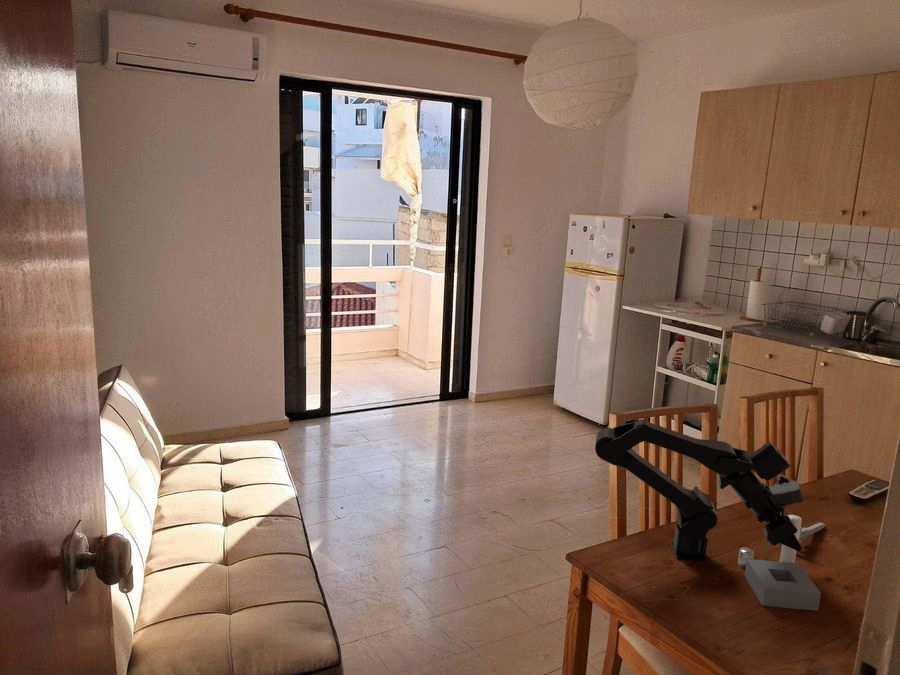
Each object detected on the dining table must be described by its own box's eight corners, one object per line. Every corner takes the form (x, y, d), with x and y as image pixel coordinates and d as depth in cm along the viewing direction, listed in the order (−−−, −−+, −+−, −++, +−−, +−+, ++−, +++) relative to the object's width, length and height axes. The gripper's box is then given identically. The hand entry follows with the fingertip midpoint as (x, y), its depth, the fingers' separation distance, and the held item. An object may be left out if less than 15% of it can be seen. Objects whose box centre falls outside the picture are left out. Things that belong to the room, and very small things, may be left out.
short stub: (740, 567, 151) (742, 553, 150) (736, 560, 153) (738, 546, 153) (753, 569, 150) (756, 555, 150) (749, 561, 153) (751, 548, 152)
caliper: (794, 554, 158) (798, 530, 156) (789, 552, 158) (794, 528, 157) (825, 527, 171) (829, 504, 170) (820, 525, 172) (824, 503, 171)
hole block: (762, 605, 137) (765, 588, 136) (744, 575, 148) (747, 559, 147) (817, 610, 136) (821, 593, 135) (796, 579, 147) (799, 563, 146)
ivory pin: (781, 571, 150) (790, 520, 147) (776, 564, 153) (784, 514, 150) (795, 572, 149) (804, 521, 147) (790, 565, 152) (798, 515, 150)
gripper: (793, 488, 138) (843, 545, 138) (773, 454, 156) (817, 504, 156) (747, 517, 141) (795, 572, 141) (732, 481, 159) (775, 530, 159)
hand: (797, 543), depth 149 cm, fingers open, 6 cm apart
